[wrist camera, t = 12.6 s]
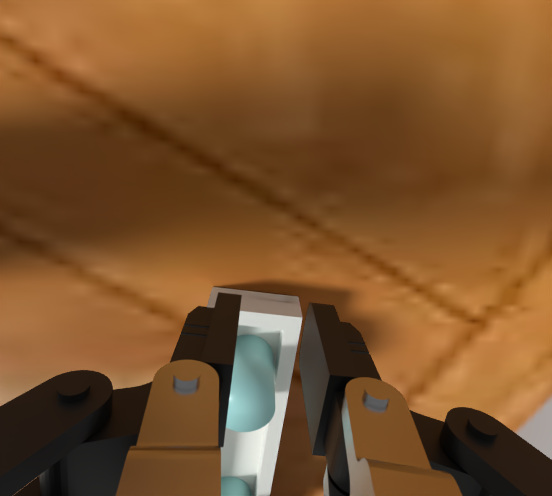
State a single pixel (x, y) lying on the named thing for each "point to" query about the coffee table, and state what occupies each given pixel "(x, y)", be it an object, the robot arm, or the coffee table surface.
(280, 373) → the tray
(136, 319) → the coffee table surface
